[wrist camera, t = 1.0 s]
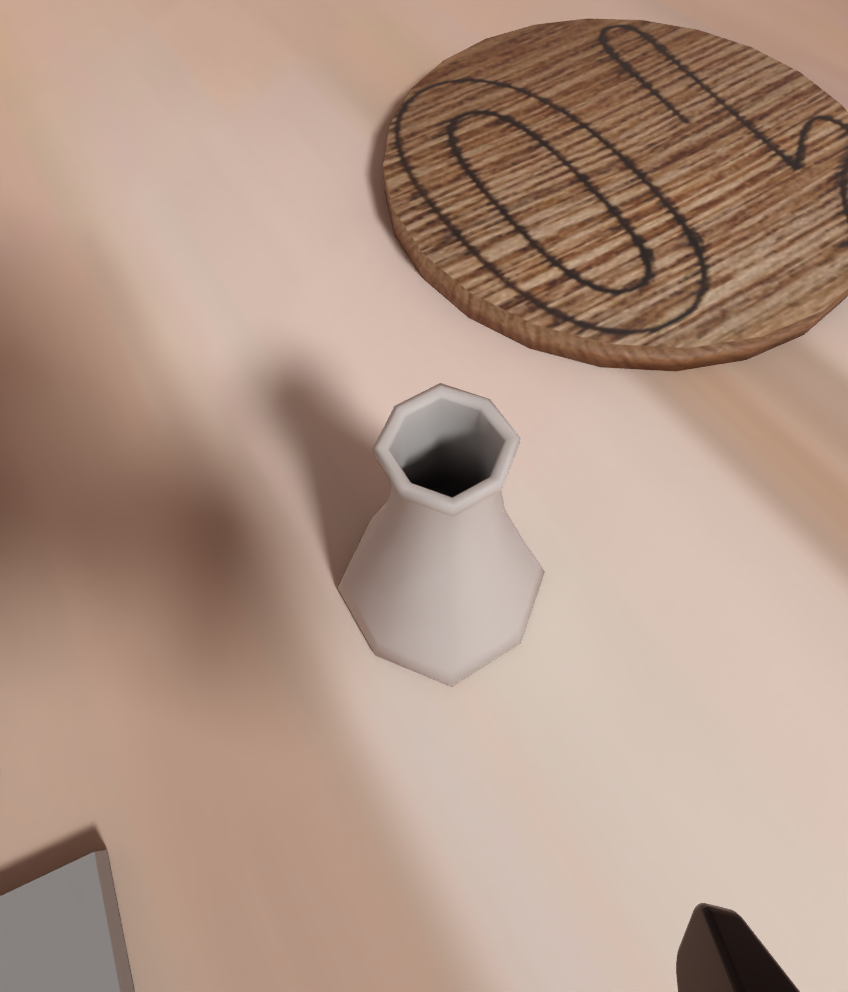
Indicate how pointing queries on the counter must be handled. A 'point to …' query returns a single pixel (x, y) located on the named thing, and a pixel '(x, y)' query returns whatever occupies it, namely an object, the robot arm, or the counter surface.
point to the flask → (443, 541)
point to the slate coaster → (64, 932)
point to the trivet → (624, 193)
